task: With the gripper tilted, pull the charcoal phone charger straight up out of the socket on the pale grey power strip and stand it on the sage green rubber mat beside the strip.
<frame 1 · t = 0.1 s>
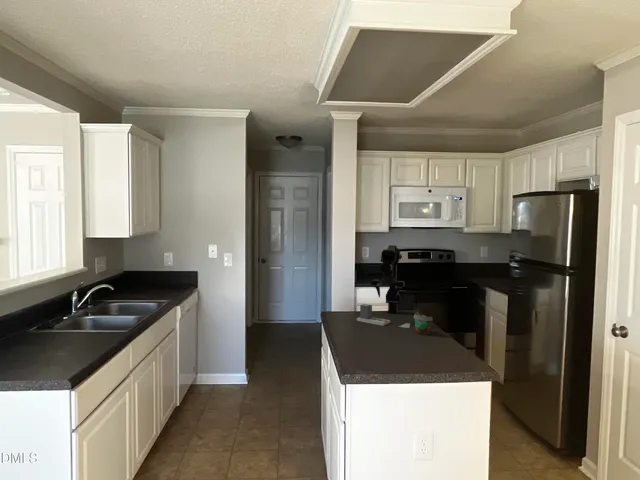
hand: (387, 297, 258), 15 cm above the countertop, tool pointing down, fingers open, 9 cm apart
mat: (401, 325, 253), on the countertop
power strip: (373, 323, 257), on the countertop
charger: (365, 320, 260), point 1 cm above the countertop, touching power strip
food container: (420, 333, 237), on the countertop
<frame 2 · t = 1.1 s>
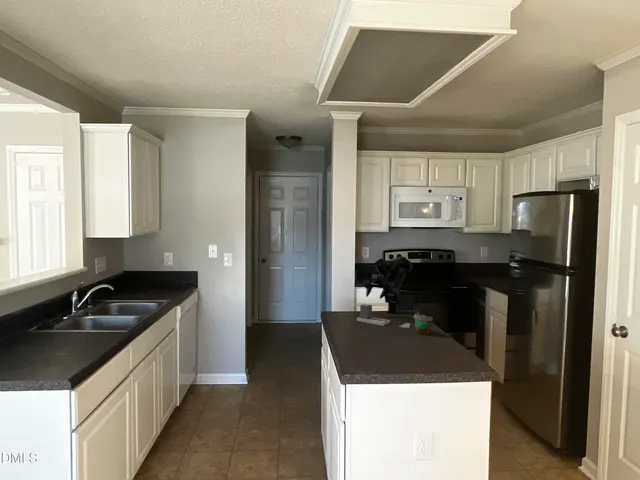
hand: (373, 297, 265), 13 cm above the countertop, tool tilted 45°, fingers open, 9 cm apart
nothing on the countertop moved.
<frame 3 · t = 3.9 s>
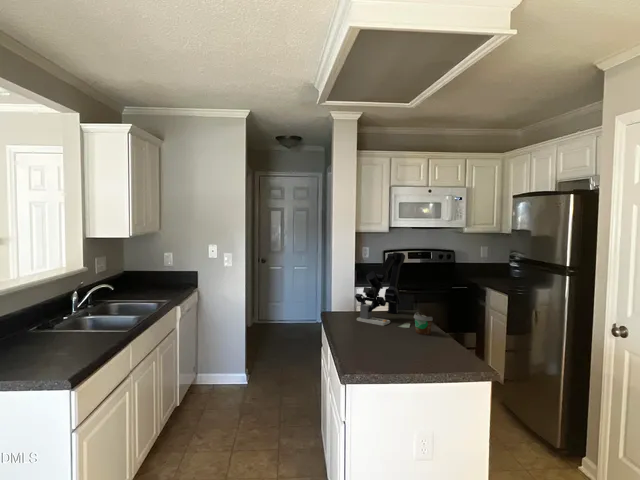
hand: (364, 311, 258), 7 cm above the countertop, tool tilted 45°, fingers closed on charger, 5 cm apart
charger: (365, 320, 260), point 1 cm above the countertop, touching gripper, power strip
everything else where it was.
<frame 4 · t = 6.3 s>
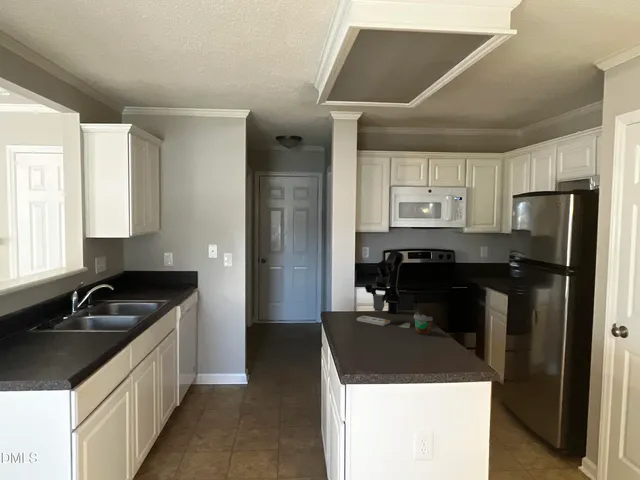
hand: (378, 301, 254), 13 cm above the countertop, tool tilted 45°, fingers closed on charger, 5 cm apart
charger: (378, 310, 255), point 8 cm above the countertop, touching gripper
everything else where it was.
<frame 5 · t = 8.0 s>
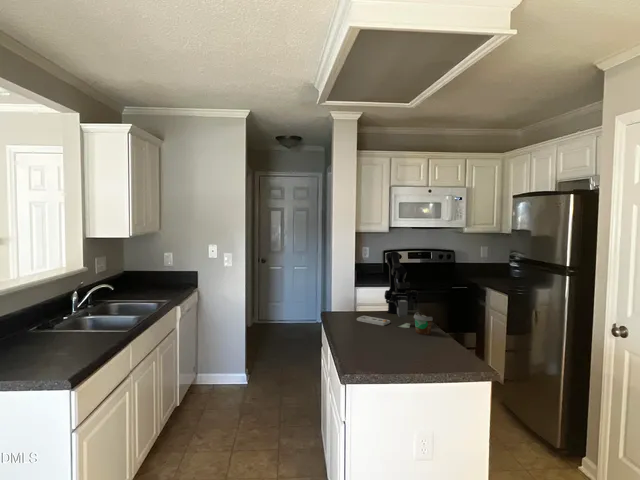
hand: (402, 307, 251), 11 cm above the countertop, tool tilted 45°, fingers closed on charger, 5 cm apart
charger: (402, 316, 253), point 5 cm above the countertop, touching gripper
everything else where it was.
when the fingers open (7 cm above the countertop, at t = 9.1 s): charger drops 1 cm, resting on mat.
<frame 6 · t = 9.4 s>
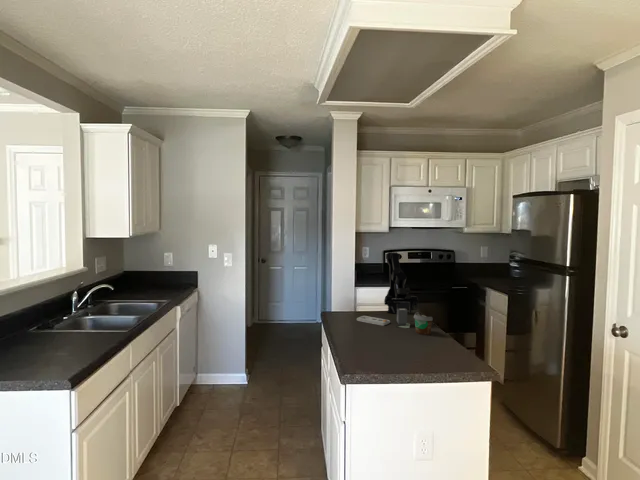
hand: (402, 313, 251), 8 cm above the countertop, tool tilted 45°, fingers open, 8 cm apart
charger: (401, 324, 253), resting on mat
everything else where it was.
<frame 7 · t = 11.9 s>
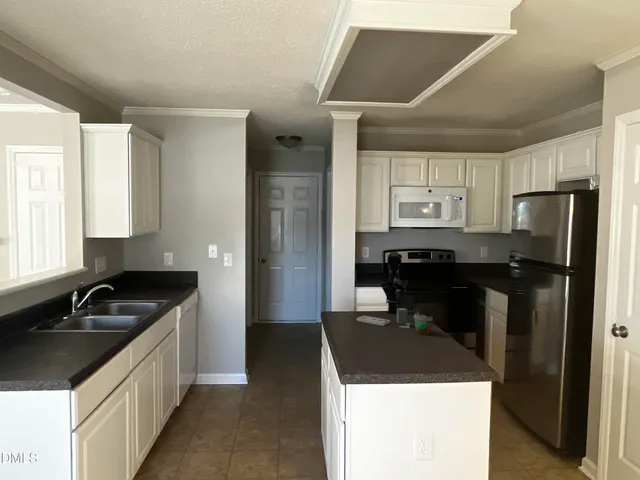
hand: (393, 301, 266), 11 cm above the countertop, tool tilted 20°, fingers open, 9 cm apart
nothing on the countertop moved.
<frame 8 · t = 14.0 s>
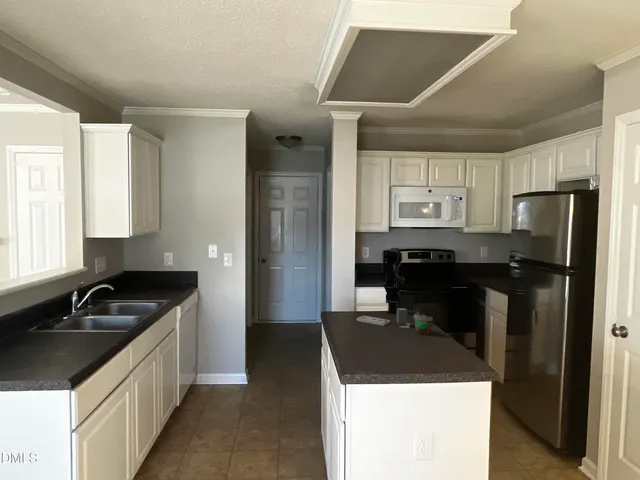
hand: (390, 296, 271), 13 cm above the countertop, tool pointing down, fingers open, 9 cm apart
nothing on the countertop moved.
at the end: charger inside the target area on the mat (0.1 cm from its centre), point 0.4 cm above the mat's base; charger tilted 0°; charger touching mat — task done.
